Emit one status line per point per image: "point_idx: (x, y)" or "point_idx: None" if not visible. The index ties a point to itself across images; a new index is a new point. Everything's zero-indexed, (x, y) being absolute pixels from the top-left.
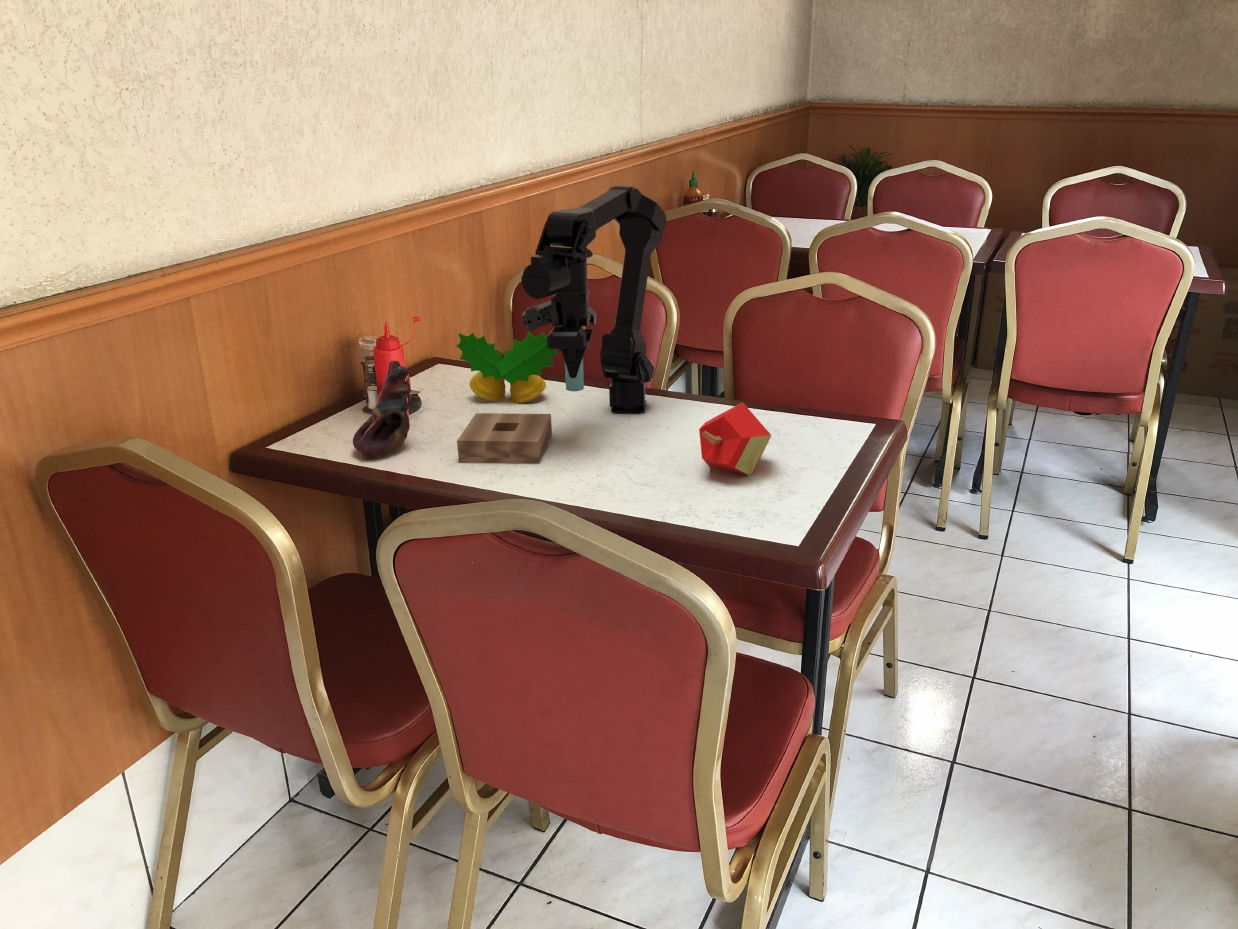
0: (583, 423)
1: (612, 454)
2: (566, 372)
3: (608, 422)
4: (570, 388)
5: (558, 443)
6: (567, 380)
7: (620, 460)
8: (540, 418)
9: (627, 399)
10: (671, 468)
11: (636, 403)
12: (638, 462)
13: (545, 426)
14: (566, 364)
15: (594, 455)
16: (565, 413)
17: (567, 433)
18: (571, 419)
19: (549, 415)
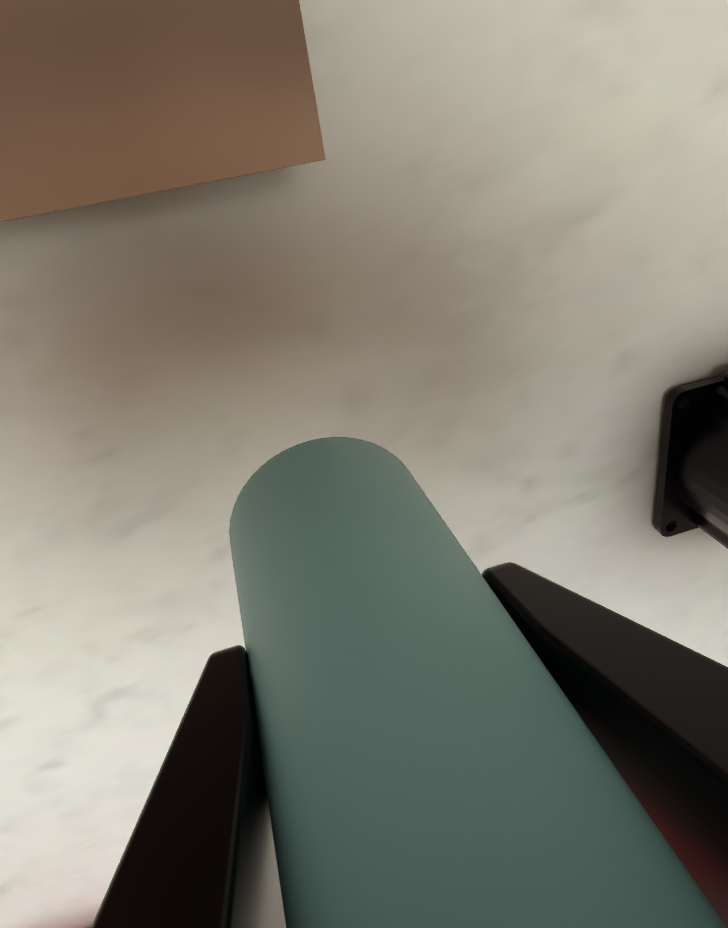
0: (516, 293)
1: (99, 604)
2: (280, 619)
3: (539, 420)
4: (234, 538)
5: (147, 261)
6: (255, 558)
7: (36, 663)
8: (184, 96)
9: (717, 496)
10: (45, 843)
11: (705, 517)
12: (49, 731)
13: (21, 217)
14: (114, 877)
15: (43, 535)
16: (683, 110)
17: (338, 256)
18: (578, 192)
19: (286, 159)
